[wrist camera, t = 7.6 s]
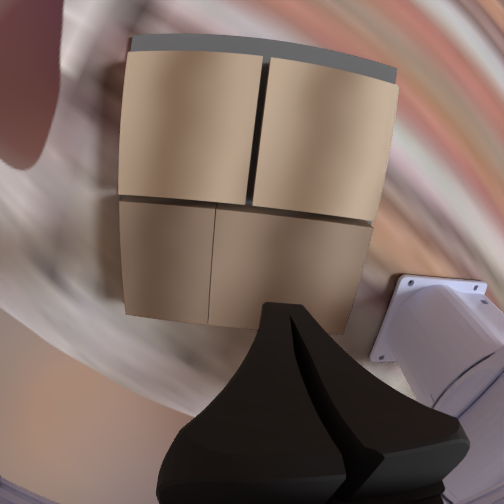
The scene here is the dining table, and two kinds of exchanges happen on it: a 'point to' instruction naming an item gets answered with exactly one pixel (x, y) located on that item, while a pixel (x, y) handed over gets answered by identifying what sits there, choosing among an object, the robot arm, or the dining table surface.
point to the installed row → (237, 261)
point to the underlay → (267, 51)
